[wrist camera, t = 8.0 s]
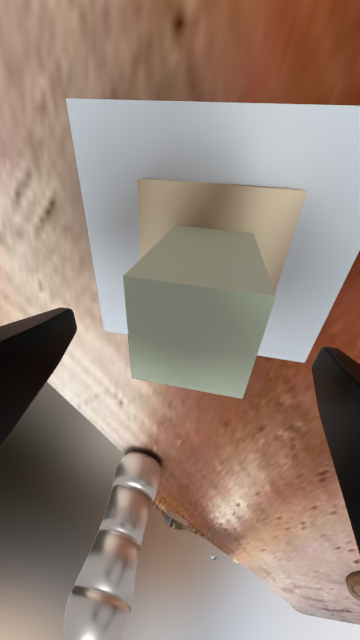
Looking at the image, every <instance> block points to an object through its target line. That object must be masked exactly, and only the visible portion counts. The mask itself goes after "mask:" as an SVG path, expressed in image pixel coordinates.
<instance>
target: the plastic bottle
mask: <svg viewBox="0 0 360 640" xmlns="http://www.w3.org/2000/svg"><path fill="white" fill-rule="evenodd" d="M160 479H161V469H160V466H159V463H158V462H157V460H155V459H154V458H153V457H151V456H149V455H147V454H144V453H140V452H130V453H128V454H126V455H125V456H124V457H123V458H122V459H121V461H120V463H119V465H118V467H117V469H116V472H115V476H114V480H113V486H112V488H113V489H112V491H111V495H110V498H109V501H108V505H107V508H106V512H105V515H104V518H103V521H102V524H101V526H100V528H99V532H98V534H97V536H96V538H95V541H94V543H93V546H92V548H91V551H90V553H89V555H88V557H87V559H86V561H85V563H84V566H83V568H82V570H81V572H80V574H79V576H78V578H77V580H76V583H75V586H74V588H73V589H72V591H71V593H70V596H69V598H68V601H67V605H66V610H65V615H64V640H121V638H122V637H123V635H124V632H125V630H126V627H127V625H128V623H129V617H130V612H131V603H132V598H133V591H134V584H135V577H136V568H137V564H138V559H139V554H140V545H141V543H142V538H143V533H144V530H145V526H146V523H147V519H148V516H149V513H150V510H151V506H152V502H153V501H154V499H155V496H156V494H157V491H158V488H159V485H160Z"/></svg>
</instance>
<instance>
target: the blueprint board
mask: <svg viewBox="0 0 360 640" xmlns="http://www.w3.org/2000/svg"><path fill="white" fill-rule="evenodd" d="M66 104H67V110H68V116H69V122H70V128H71V134H72V140H73V146H74V152H75V158H76V164H77V170H78V176H79V182H80V188H81V194H82V200H83V206H84V212H85V218H86V224H87V230H88V236H89V242H90V248H91V254H92V260H93V267H94V273H95V279H96V285H97V291H98V297H99V303H100V309H101V315H102V321H103V327H104V331H108V332H114V333H121V334H127V335H128V329H127V317H126V306H125V294H124V283H123V275H124V274H125V273H126V272H128V271H129V270H130V269H131V268H132V267H133V266H134V265H135V264H136V263H137V262H138V261H139V260H140V259H141V252H140V230H139V208H138V186H137V179H142V178H151V179H165V180H180V181H194V182H209V183H223V184H238V185H252V186H267V187H281V188H296V189H302V190H306V191H307V193H306V197H305V200H304V203H303V206H302V209H301V212H300V216H299V219H298V222H297V225H296V228H295V231H294V235H293V238H292V241H291V244H290V247H289V250H288V254H287V257H286V260H285V263H284V266H283V269H282V273H281V276H280V279H279V282H278V285H277V288H276V292H275V294H276V299H275V302H274V305H273V308H272V311H271V314H270V317H269V320H268V323H267V326H266V329H265V332H264V335H263V338H262V341H261V344H260V347H259V350H258V353H257V355H259V356H265V357H271V358H278V359H284V360H290V361H296V362H303V363H305V361H306V359H307V357H308V355H309V353H310V351H311V349H312V347H313V345H314V343H315V340H316V338H317V336H318V334H319V332H320V330H321V328H322V326H323V324H324V322H325V320H326V318H327V316H328V314H329V312H330V310H331V308H332V306H333V304H334V302H335V300H336V297H337V295H338V293H339V291H340V289H341V287H342V285H343V283H344V281H345V279H346V277H347V275H348V273H349V271H350V269H351V267H352V265H353V263H354V261H355V259H356V257H357V255H358V252H359V250H360V106H350V105H310V104H271V103H231V102H191V101H151V100H111V99H72V98H66Z"/></svg>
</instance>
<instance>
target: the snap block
mask: <svg viewBox="0 0 360 640" xmlns="http://www.w3.org/2000/svg"><path fill="white" fill-rule="evenodd" d="M123 283H124V294H125V306H126V317H127V329H128V340H129V352H130V363H131V374H132V378H134V379H139V380H144V381H150V382H155V383H160V384H165V385H171V386H176V387H181V388H187V389H192V390H197V391H203V392H208V393H213V394H219V395H224V396H229V397H235V398H240V399H243V396H244V393H245V390H246V387H247V384H248V381H249V378H250V375H251V372H252V369H253V366H254V362H255V359H256V356H257V353H258V350H259V347H260V344H261V341H262V338H263V335H264V332H265V329H266V326H267V323H268V320H269V317H270V314H271V311H272V308H273V305H274V302H275V299H276V294H275V291H274V289H273V286H272V283H271V280H270V278H269V275H268V272H267V269H266V267H265V264H264V261H263V258H262V256H261V253H260V250H259V247H258V245H257V242H256V239H255V236H254V234H253V233H247V232H237V231H227V230H217V229H207V228H197V227H187V226H177V225H175V226H174V227H173V228H172V229H171V230H170V231H168V232H167V233H166V234H165V235H164V236H163V237H162V238H161V239H160V240H159V241H158V242H157V243H156V244H155V245H154V246H153V247H152V248H151V249H150V250H149V251H148V252H147V253H146V254H145V255H144V256H143V257H142V258H141V259H140V260H139V261H138V262H137V263H136V264H135V265H134V266H133V267H132V268H131V269H130V270H129V271H128V272H126V273H125V274H124V275H123Z"/></svg>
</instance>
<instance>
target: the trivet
mask: <svg viewBox="0 0 360 640" xmlns="http://www.w3.org/2000/svg"><path fill="white" fill-rule="evenodd" d="M346 583H347V587H348V590H349V593H350V594H351V595H352V596H353V597H354V598H356V599H357V600H359V601H360V571H356V572H352V573H351V574H349V575H348V576H346Z"/></svg>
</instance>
